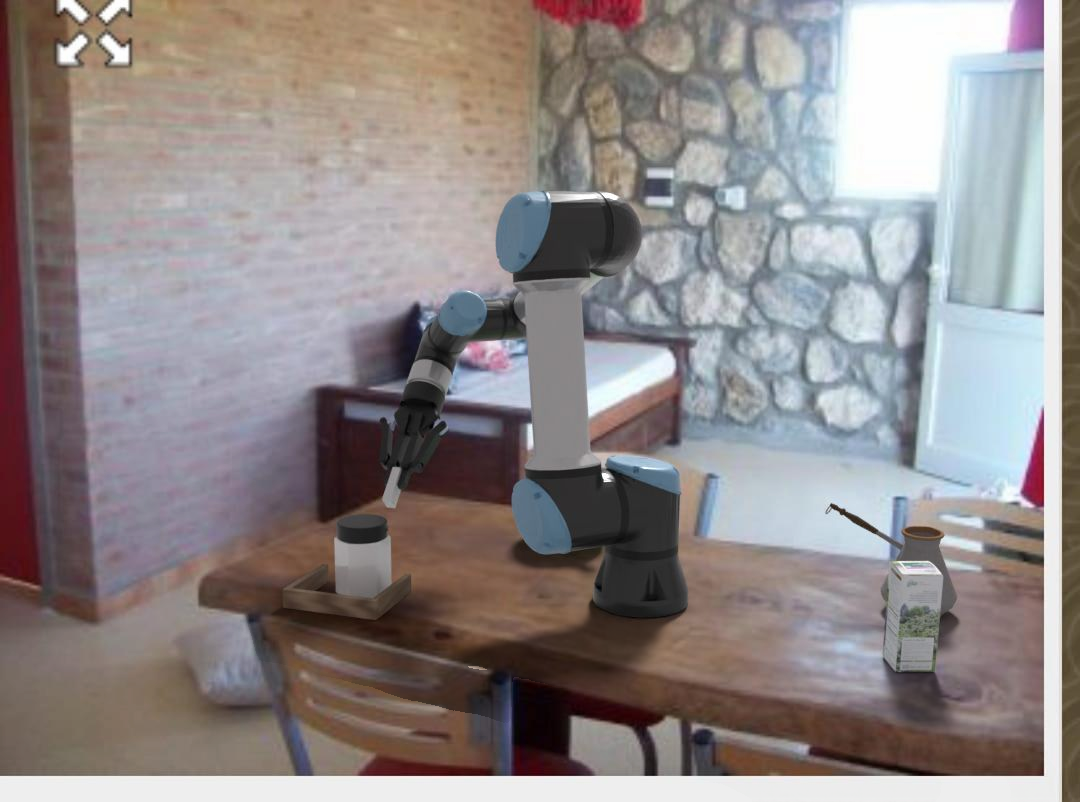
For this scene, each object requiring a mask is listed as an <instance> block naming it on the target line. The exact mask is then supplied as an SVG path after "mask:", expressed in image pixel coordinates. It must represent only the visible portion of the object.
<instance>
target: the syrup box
mask: <svg viewBox="0 0 1080 802" xmlns="http://www.w3.org/2000/svg"><path fill="white" fill-rule="evenodd" d="M887 575H888V586H887V600H886V602H885V614H884V615H885V618H884V631H883V642H882V643H883V645H882V658H883V659H884V660H885V661H886V663H887V664H888V665H889V666H890V667H891V668H892V670H893V671H894V673H935V672H936V667H937V652H938V643H939V642H938V641H939V632H940V631H939V629H940V619H941V617H940V610H941V598H942V587H943V575H942V574H941V572H940V571H939V570H938V569H937V568H936V566H934V565H933V564H932V563H931V562H929V561H895V560H891V561H889V562H888V573H887Z"/></svg>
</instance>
